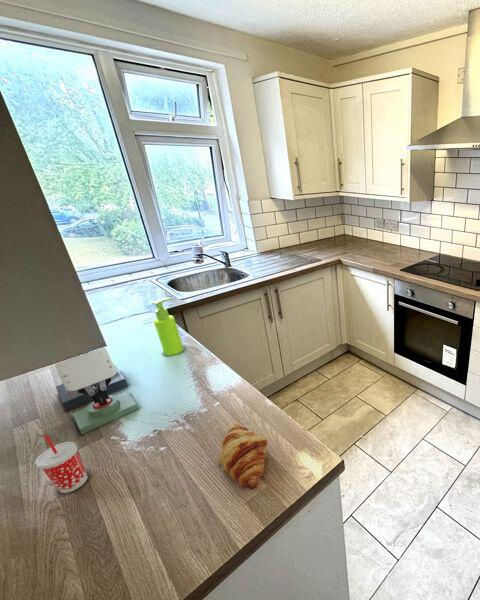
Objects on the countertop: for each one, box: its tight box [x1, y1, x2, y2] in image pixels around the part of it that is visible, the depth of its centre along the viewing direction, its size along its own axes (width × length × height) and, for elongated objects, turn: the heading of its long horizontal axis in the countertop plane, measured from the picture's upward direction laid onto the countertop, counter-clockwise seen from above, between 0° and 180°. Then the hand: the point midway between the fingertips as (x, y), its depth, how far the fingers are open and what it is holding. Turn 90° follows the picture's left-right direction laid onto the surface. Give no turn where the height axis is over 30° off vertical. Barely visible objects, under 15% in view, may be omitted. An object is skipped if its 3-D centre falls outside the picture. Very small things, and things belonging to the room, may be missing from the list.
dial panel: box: [55, 364, 129, 412], centre depth 98 cm, size 14×11×3 cm
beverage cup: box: [35, 434, 88, 494], centre depth 68 cm, size 6×6×14 cm
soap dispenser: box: [152, 297, 184, 356], centre depth 116 cm, size 6×7×20 cm
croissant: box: [218, 423, 268, 490], centre depth 76 cm, size 21×10×8 cm, turn 36°
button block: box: [72, 390, 139, 435], centre depth 90 cm, size 12×9×4 cm
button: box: [94, 398, 112, 409], centre depth 89 cm, size 4×4×2 cm
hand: (102, 402), depth 89 cm, fingers closed
